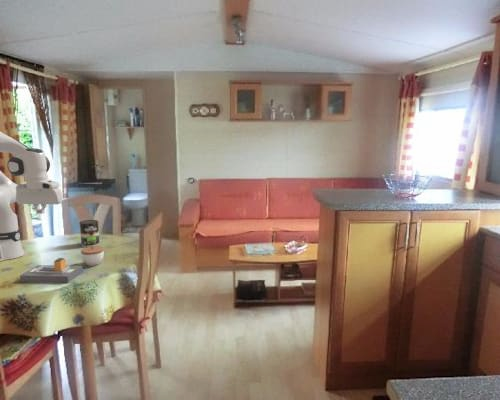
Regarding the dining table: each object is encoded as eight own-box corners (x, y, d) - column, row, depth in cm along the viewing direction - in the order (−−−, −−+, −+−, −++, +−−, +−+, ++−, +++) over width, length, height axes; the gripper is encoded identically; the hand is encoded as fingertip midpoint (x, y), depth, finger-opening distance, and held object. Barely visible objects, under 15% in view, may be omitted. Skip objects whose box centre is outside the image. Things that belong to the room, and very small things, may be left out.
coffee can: (101, 245, 219) (99, 222, 216) (82, 248, 213) (81, 224, 211) (98, 241, 227) (96, 218, 225) (79, 243, 222) (78, 221, 219)
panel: (20, 281, 165) (19, 272, 164) (38, 271, 178) (37, 262, 177) (68, 282, 164) (67, 273, 163) (82, 271, 177) (82, 263, 176)
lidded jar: (78, 263, 188) (77, 246, 186) (98, 258, 196) (97, 241, 194) (88, 269, 181) (86, 250, 179) (108, 263, 189) (107, 245, 187)
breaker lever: (55, 271, 168) (53, 260, 167) (59, 268, 172) (58, 257, 171) (61, 272, 168) (60, 260, 167) (66, 268, 172) (65, 257, 171)
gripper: (11, 184, 166) (14, 214, 168) (55, 185, 165) (57, 215, 167) (20, 182, 172) (23, 211, 174) (62, 183, 171) (65, 212, 174)
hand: (40, 213), depth 171 cm, fingers closed
